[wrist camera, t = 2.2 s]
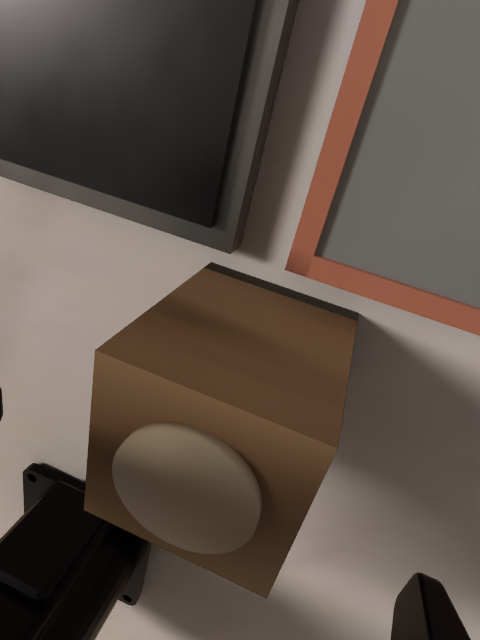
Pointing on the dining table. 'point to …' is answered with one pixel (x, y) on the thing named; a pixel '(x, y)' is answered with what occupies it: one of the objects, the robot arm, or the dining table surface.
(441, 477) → the dining table surface
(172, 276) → the dining table surface
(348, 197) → the tile
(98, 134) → the pad
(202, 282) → the stamp
